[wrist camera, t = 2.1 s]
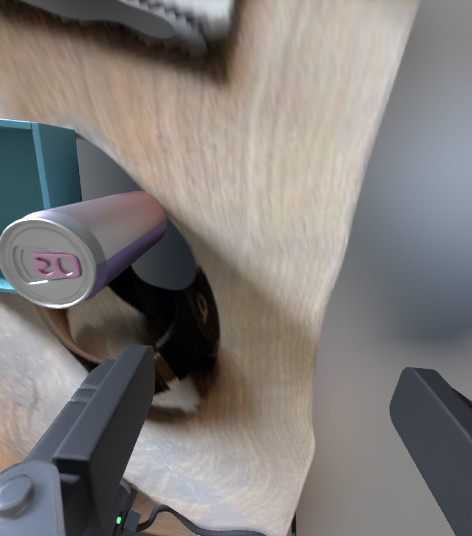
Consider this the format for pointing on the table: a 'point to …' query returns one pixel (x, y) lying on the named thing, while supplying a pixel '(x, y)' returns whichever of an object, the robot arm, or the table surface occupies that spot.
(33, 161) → the box
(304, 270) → the table surface
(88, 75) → the table surface
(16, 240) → the beverage can
